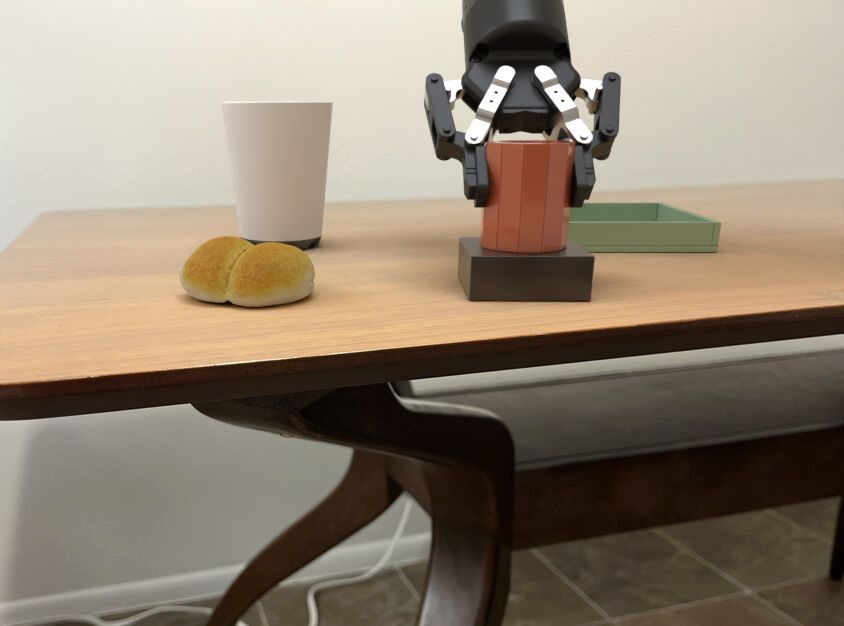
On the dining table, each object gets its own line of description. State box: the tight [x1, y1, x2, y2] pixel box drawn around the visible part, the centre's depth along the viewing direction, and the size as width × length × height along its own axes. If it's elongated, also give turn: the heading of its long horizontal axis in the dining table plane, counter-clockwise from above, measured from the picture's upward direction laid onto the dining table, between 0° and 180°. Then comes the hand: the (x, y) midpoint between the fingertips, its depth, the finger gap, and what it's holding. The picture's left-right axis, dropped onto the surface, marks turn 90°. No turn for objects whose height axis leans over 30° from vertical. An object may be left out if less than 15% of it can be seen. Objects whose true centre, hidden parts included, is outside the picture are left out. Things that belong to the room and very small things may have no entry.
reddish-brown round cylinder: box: [479, 139, 575, 253], centre depth 56 cm, size 6×6×7 cm
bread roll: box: [179, 235, 316, 308], centre depth 56 cm, size 8×9×4 cm
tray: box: [567, 201, 722, 253], centre depth 78 cm, size 17×15×3 cm
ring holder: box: [457, 236, 596, 302], centre depth 56 cm, size 8×8×8 cm
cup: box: [221, 100, 334, 251], centre depth 74 cm, size 10×10×13 cm
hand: (530, 199), depth 54 cm, fingers closed on reddish-brown round cylinder, 6 cm apart
